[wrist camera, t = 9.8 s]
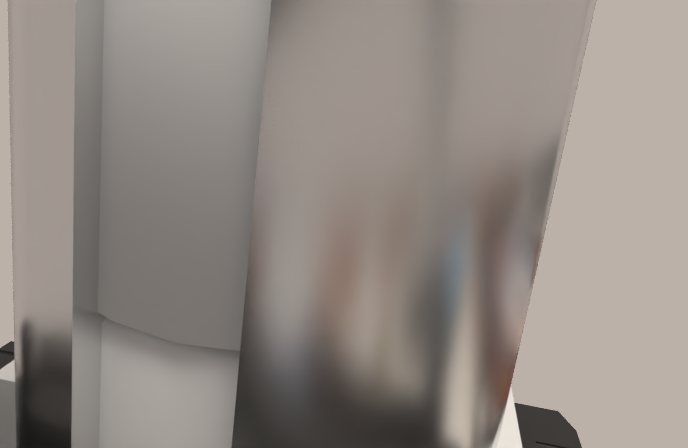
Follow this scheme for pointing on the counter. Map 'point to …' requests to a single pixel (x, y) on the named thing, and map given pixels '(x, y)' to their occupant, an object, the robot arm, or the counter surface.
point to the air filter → (280, 216)
